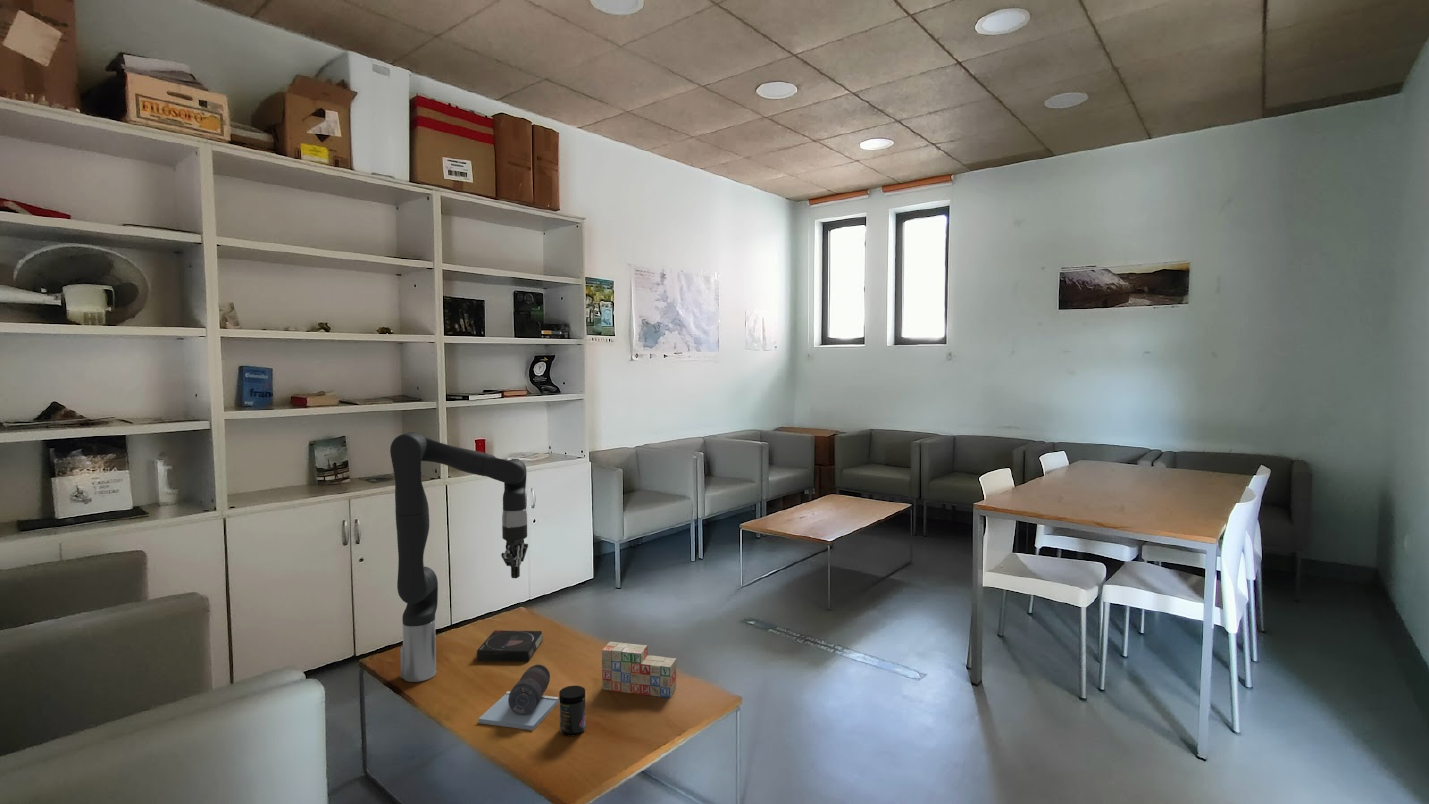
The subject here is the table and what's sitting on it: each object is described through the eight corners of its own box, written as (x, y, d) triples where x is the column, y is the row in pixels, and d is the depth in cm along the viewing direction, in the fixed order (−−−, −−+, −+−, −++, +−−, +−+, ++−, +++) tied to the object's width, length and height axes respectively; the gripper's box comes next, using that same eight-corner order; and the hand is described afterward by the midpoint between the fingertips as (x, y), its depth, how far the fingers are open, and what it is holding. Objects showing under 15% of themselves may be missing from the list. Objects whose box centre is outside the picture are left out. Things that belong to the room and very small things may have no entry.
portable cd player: (529, 663, 217) (529, 651, 217) (477, 662, 217) (476, 650, 217) (543, 642, 233) (543, 631, 233) (494, 641, 233) (494, 630, 233)
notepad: (478, 723, 179) (478, 717, 179) (507, 696, 194) (507, 691, 194) (533, 730, 176) (533, 724, 176) (558, 702, 191) (558, 697, 190)
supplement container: (579, 738, 172) (579, 699, 172) (555, 735, 173) (554, 696, 173) (589, 724, 179) (589, 686, 178) (565, 722, 180) (565, 684, 180)
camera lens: (548, 692, 196) (531, 719, 181) (522, 684, 196) (503, 710, 181) (556, 667, 195) (540, 692, 180) (529, 658, 195) (511, 682, 181)
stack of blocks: (676, 688, 199) (676, 648, 199) (670, 698, 193) (670, 657, 193) (609, 680, 205) (609, 640, 204) (601, 689, 199) (601, 649, 198)
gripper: (514, 517, 217) (515, 570, 218) (492, 527, 205) (493, 583, 205) (535, 519, 216) (536, 572, 217) (514, 528, 203) (515, 585, 204)
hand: (515, 577), depth 211 cm, fingers closed
